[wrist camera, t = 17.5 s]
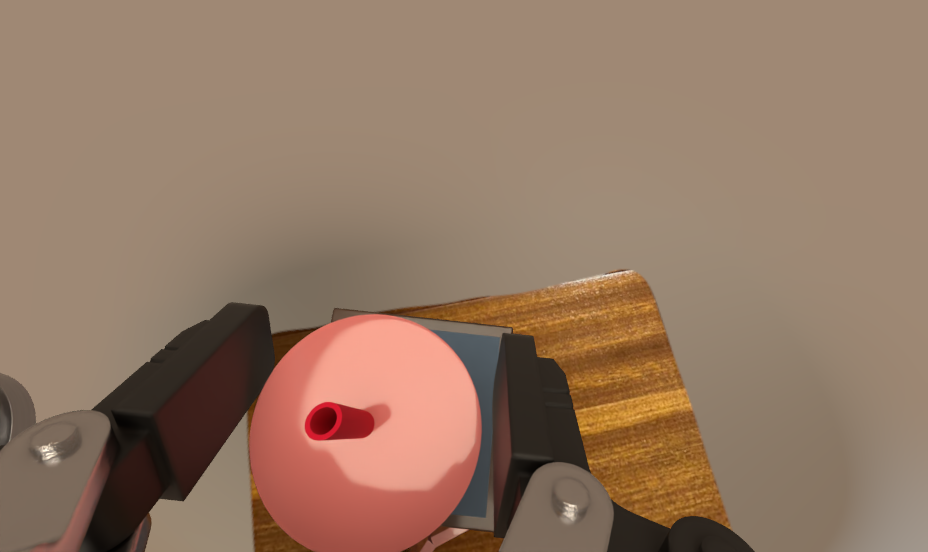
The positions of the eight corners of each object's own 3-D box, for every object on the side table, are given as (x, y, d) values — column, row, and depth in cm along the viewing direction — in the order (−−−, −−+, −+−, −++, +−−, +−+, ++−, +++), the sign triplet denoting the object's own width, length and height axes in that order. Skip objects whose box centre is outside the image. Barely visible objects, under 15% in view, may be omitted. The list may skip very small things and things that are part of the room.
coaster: (311, 494, 18) (304, 498, 17) (344, 322, 20) (340, 319, 19) (484, 513, 18) (486, 518, 17) (498, 339, 20) (499, 337, 19)
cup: (357, 349, 19) (211, 263, 7) (472, 361, 19) (505, 293, 7) (335, 476, 17) (102, 621, 6) (461, 489, 17) (481, 659, 6)
